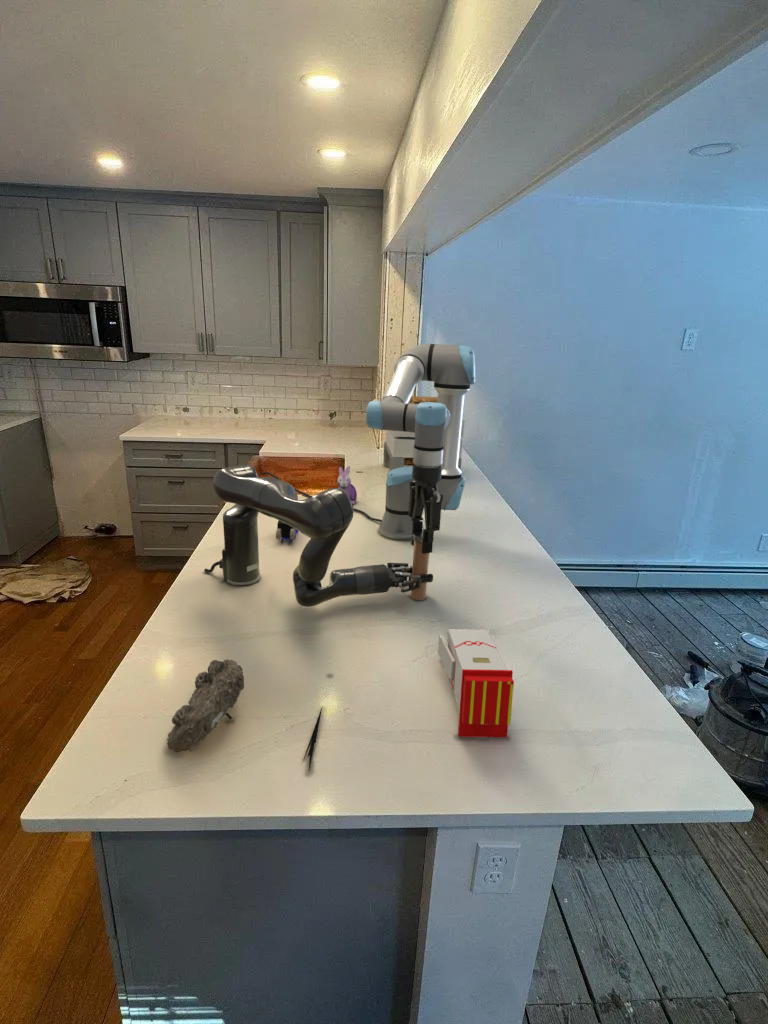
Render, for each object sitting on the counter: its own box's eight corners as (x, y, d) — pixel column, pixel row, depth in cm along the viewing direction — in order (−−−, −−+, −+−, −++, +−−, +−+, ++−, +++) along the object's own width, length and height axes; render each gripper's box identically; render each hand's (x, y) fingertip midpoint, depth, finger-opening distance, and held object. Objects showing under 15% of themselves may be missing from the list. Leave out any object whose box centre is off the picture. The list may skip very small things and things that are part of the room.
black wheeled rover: (295, 549, 186) (301, 528, 200) (295, 529, 183) (300, 509, 196) (275, 549, 186) (282, 527, 199) (274, 528, 183) (281, 508, 196)
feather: (331, 679, 122) (336, 673, 122) (307, 777, 96) (313, 769, 95) (324, 675, 122) (329, 669, 121) (298, 772, 95) (304, 764, 95)
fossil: (192, 660, 117) (244, 628, 112) (224, 691, 120) (276, 661, 115) (142, 746, 98) (202, 712, 93) (182, 779, 101) (242, 748, 96)
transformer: (382, 463, 289) (386, 382, 275) (445, 464, 293) (451, 384, 279) (390, 482, 257) (394, 392, 243) (460, 483, 261) (468, 394, 247)
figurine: (340, 508, 222) (341, 471, 217) (330, 500, 231) (330, 464, 226) (362, 505, 226) (363, 469, 221) (351, 497, 235) (352, 462, 230)
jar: (424, 592, 159) (429, 532, 153) (427, 600, 155) (431, 539, 149) (409, 592, 159) (413, 532, 153) (411, 600, 155) (415, 539, 149)
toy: (488, 613, 130) (523, 677, 101) (484, 667, 133) (517, 744, 104) (435, 612, 130) (455, 676, 101) (432, 666, 133) (451, 743, 103)
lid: (408, 538, 151) (408, 532, 151) (422, 534, 155) (423, 528, 154) (421, 544, 148) (422, 539, 147) (436, 540, 151) (436, 534, 150)
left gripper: (377, 578, 143) (440, 572, 148) (362, 556, 156) (420, 550, 161) (376, 605, 145) (438, 598, 150) (361, 580, 158) (419, 574, 163)
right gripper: (459, 472, 138) (451, 559, 146) (422, 455, 153) (417, 534, 161) (432, 475, 135) (426, 564, 143) (398, 457, 150) (393, 538, 158)
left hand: (428, 573), depth 156 cm, fingers closed on jar, 4 cm apart
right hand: (421, 548), depth 152 cm, fingers closed on lid, 5 cm apart
